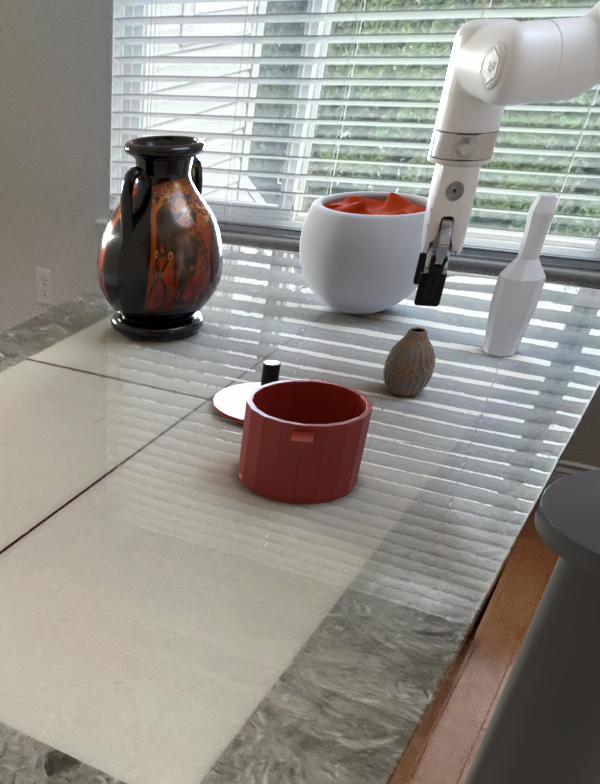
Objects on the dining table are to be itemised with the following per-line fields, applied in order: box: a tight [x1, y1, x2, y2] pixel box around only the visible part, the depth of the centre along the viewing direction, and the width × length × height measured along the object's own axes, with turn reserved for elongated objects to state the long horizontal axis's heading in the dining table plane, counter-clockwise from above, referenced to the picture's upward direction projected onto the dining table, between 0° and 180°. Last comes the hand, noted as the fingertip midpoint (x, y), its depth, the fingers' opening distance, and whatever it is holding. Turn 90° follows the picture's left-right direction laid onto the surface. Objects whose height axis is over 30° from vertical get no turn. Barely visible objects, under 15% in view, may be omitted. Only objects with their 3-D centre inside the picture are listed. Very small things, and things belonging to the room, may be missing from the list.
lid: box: [212, 359, 282, 424], centre depth 120 cm, size 15×15×7 cm
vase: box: [382, 326, 436, 397], centre depth 122 cm, size 7×7×9 cm
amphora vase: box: [96, 134, 224, 342], centre depth 141 cm, size 22×22×28 cm
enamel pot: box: [237, 377, 374, 505], centre depth 102 cm, size 14×20×10 cm
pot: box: [298, 190, 428, 315], centre depth 150 cm, size 24×24×18 cm
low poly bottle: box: [482, 192, 557, 357], centre depth 129 cm, size 6×6×22 cm
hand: (425, 294), depth 117 cm, fingers open, 9 cm apart
